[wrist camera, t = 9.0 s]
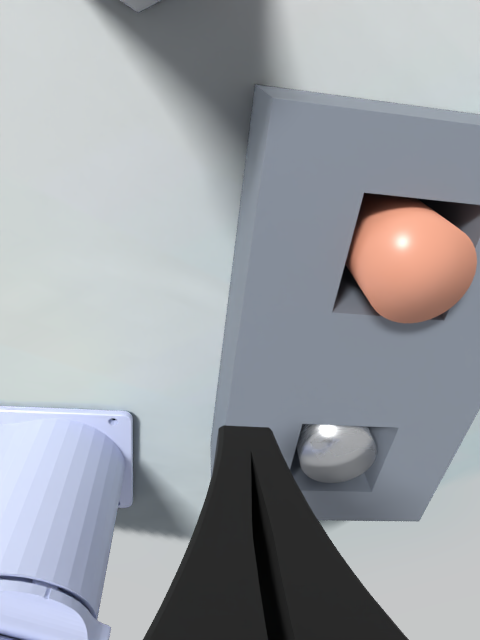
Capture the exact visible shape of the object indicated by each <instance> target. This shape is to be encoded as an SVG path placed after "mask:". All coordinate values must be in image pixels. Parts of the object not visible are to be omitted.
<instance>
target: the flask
mask: <svg viewBox="0 0 480 640" xmlns="http://www.w3.org/2000/svg"><path fill="white" fill-rule="evenodd" d="M119 1H121V2H123V3H124V4H126V5H127V6H129V7H130V8H132V9H133V10H135V11H136V12H138V13H139V12H141V11H142V10H144V9H146V8H148V7H150V6H152V5H154V4H156V3H157V2H159V1H161V0H119Z"/></svg>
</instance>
